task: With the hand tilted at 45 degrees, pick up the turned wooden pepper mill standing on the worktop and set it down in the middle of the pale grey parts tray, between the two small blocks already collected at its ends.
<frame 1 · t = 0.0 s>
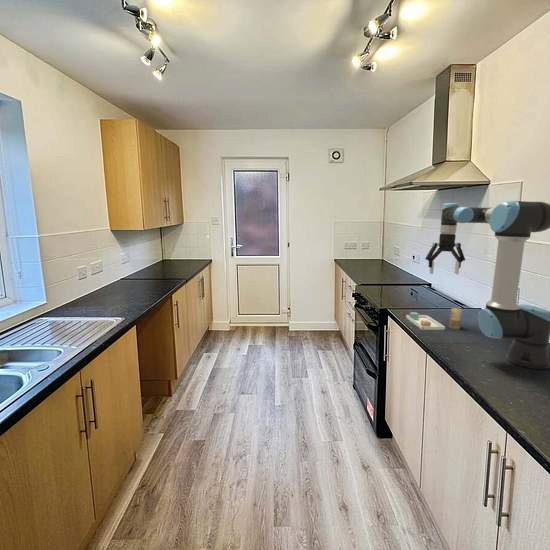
hand: (443, 273, 194), 28 cm above the countertop, tool pointing down, fingers open, 13 cm apart
teal block: (413, 319, 204), point 1 cm above the countertop, touching parts tray
terracotta block: (425, 327, 190), point 1 cm above the countertop, touching parts tray
turned wooden pepper mill: (454, 329, 191), on the countertop
parts tray: (424, 325, 197), on the countertop
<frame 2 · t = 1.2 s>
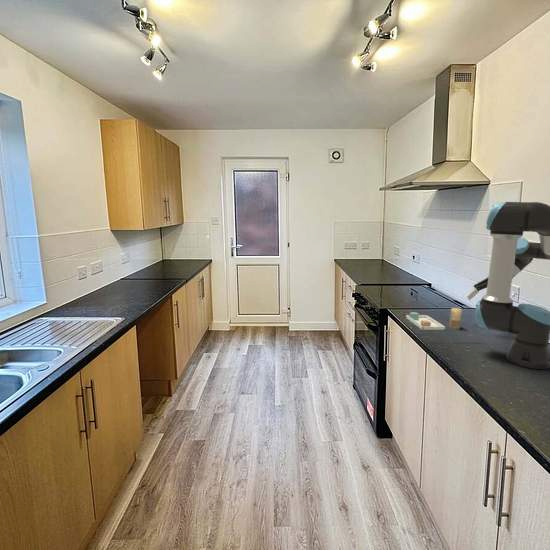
hand: (475, 301, 189), 15 cm above the countertop, tool tilted 45°, fingers open, 13 cm apart
nothing on the countertop moved.
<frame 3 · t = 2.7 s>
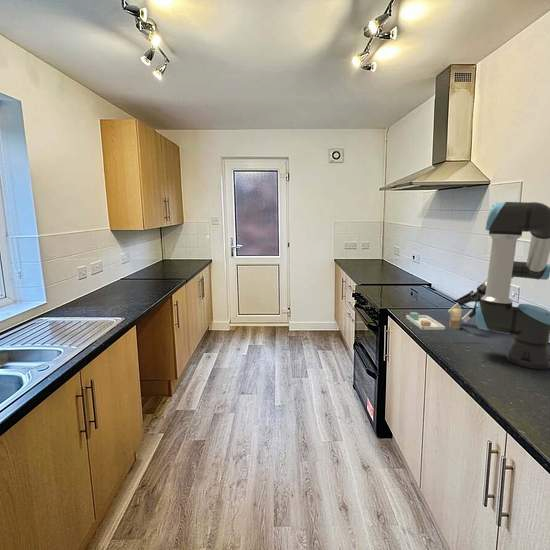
hand: (456, 316, 191), 6 cm above the countertop, tool tilted 45°, fingers open, 13 cm apart
nothing on the countertop moved.
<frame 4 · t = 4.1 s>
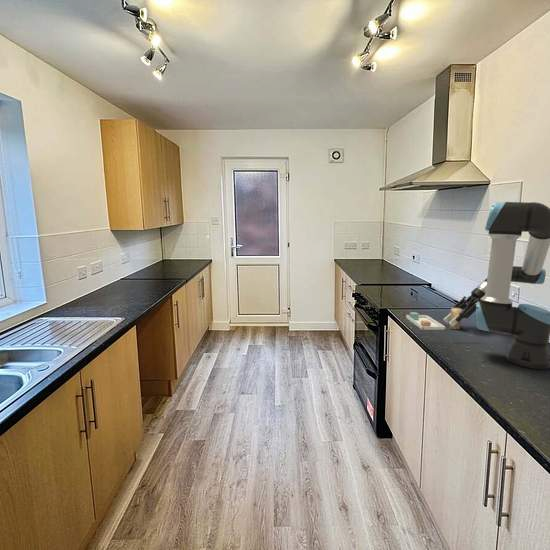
hand: (448, 323, 191), 3 cm above the countertop, tool tilted 45°, fingers closed on turned wooden pepper mill, 5 cm apart
turned wooden pepper mill: (454, 329, 191), on the countertop, touching gripper
everything else where it was.
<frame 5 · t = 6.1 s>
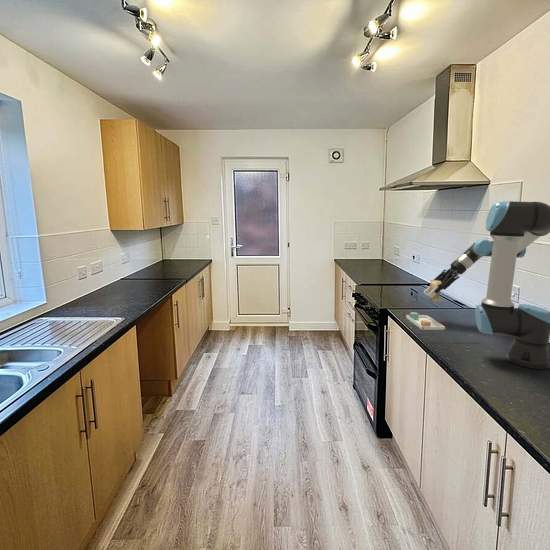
hand: (427, 295, 194), 17 cm above the countertop, tool tilted 45°, fingers closed on turned wooden pepper mill, 5 cm apart
turned wooden pepper mill: (433, 301, 195), point 13 cm above the countertop, touching gripper
everything else where it was.
when the fingers open (6 cm above the countertop, at t = 8.5 s): turned wooden pepper mill drops 1 cm, resting on parts tray.
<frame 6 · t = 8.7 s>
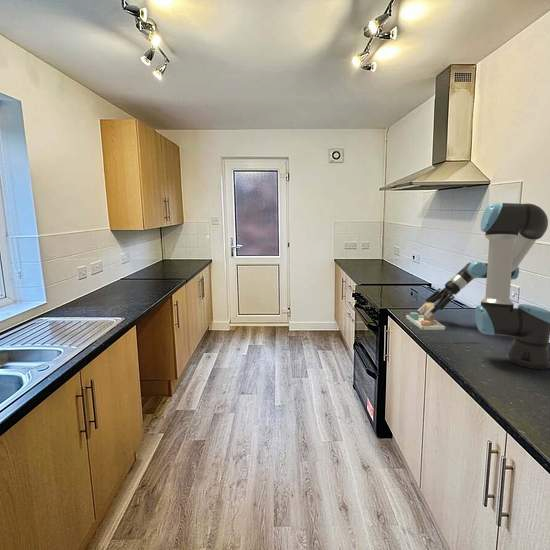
hand: (422, 314, 196), 6 cm above the countertop, tool tilted 45°, fingers open, 7 cm apart
turned wooden pepper mill: (428, 323, 197), point 1 cm above the countertop, touching parts tray
everything else where it was.
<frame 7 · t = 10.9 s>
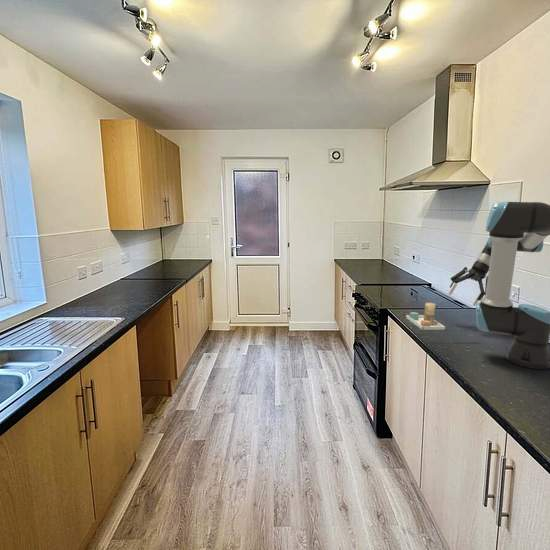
hand: (460, 299, 189), 16 cm above the countertop, tool tilted 30°, fingers open, 13 cm apart
nothing on the countertop moved.
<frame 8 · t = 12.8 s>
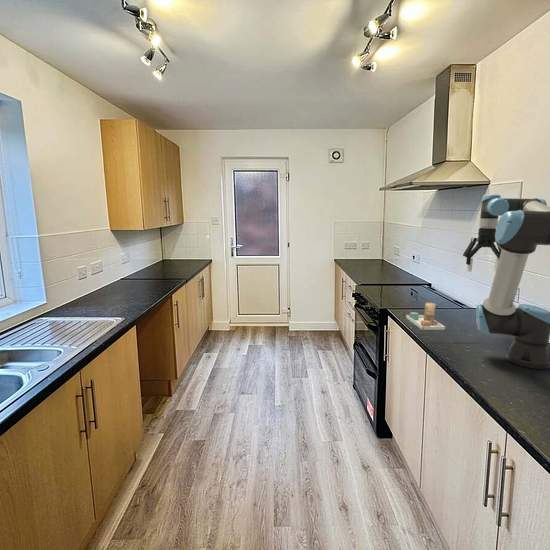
hand: (482, 271, 179), 32 cm above the countertop, tool pointing down, fingers open, 13 cm apart
nothing on the countertop moved.
at the end: turned wooden pepper mill inside the target area on the parts tray (1.6 cm from its centre), point 1.0 cm above the parts tray's base; turned wooden pepper mill tilted 1°; the gripper is holding nothing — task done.
